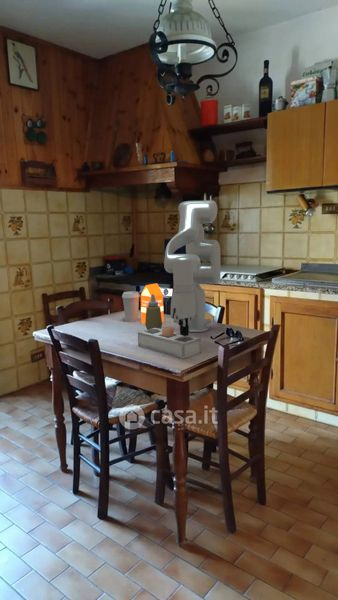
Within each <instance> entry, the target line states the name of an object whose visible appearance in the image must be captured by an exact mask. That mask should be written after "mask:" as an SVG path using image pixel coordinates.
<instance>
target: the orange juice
mask: <svg viewBox="0 0 338 600" xmlns="http://www.w3.org/2000/svg"><path fill="white" fill-rule="evenodd" d="M152 294H154V296H155V300H156V301H157V302H158V306H159V307H160V310H161V318H162V323H164V322H165V321H164V319H165V318H164V316H165V315H164V293H163V292H162V290H161V287H160V286H159V284H158V283H151V284H146V285H145V286H144V288H143V290H142V292H141V294H140V313H141V314H140V316H141V317H140V318H141V324H143V325H145V321H146V308H147V307H148V302H150V301H151V295H152Z"/></svg>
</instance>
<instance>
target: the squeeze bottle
mask: <svg viewBox="0 0 338 600" xmlns="http://www.w3.org/2000/svg"><path fill="white" fill-rule="evenodd" d="M144 325H145V328H146V330H148V329H152V328H159V329H162V328H163V327H162V326H163V322H162V318H161V310H160V307H159V306H158V302H157V301H156V300H155V296H154V294H152V295H151V301H150V302H148V307H147V308H146V321H145V324H144Z"/></svg>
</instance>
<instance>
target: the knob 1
mask: <svg viewBox="0 0 338 600" xmlns="http://www.w3.org/2000/svg"><path fill="white" fill-rule="evenodd" d="M146 330H147V329H146ZM158 332H159V330H158V329H149V330H147V333H151V334H155V333H158Z"/></svg>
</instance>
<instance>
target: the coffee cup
mask: <svg viewBox="0 0 338 600" xmlns="http://www.w3.org/2000/svg"><path fill="white" fill-rule="evenodd" d="M121 298H122V302H123V311H124V318H125V322H127V323H135V322H138V321H139V308H140V307H139V306H140V305H139V304H140V303H139V302H140V298H141V294H140V293H139V291H135V290H134V291H133V290H132V291H123V293H122V295H121Z"/></svg>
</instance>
